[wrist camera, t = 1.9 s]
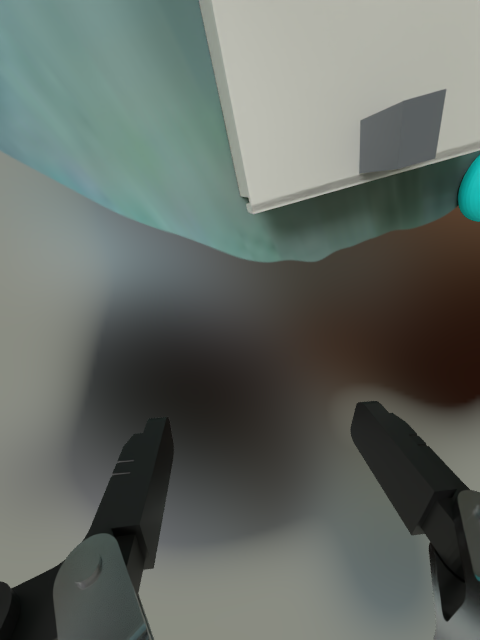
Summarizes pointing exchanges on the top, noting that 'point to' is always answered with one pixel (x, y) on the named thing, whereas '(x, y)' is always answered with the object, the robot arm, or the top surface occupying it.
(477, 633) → the robot arm
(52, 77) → the top surface
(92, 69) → the top surface
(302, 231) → the top surface
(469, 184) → the donuts
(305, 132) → the lid
